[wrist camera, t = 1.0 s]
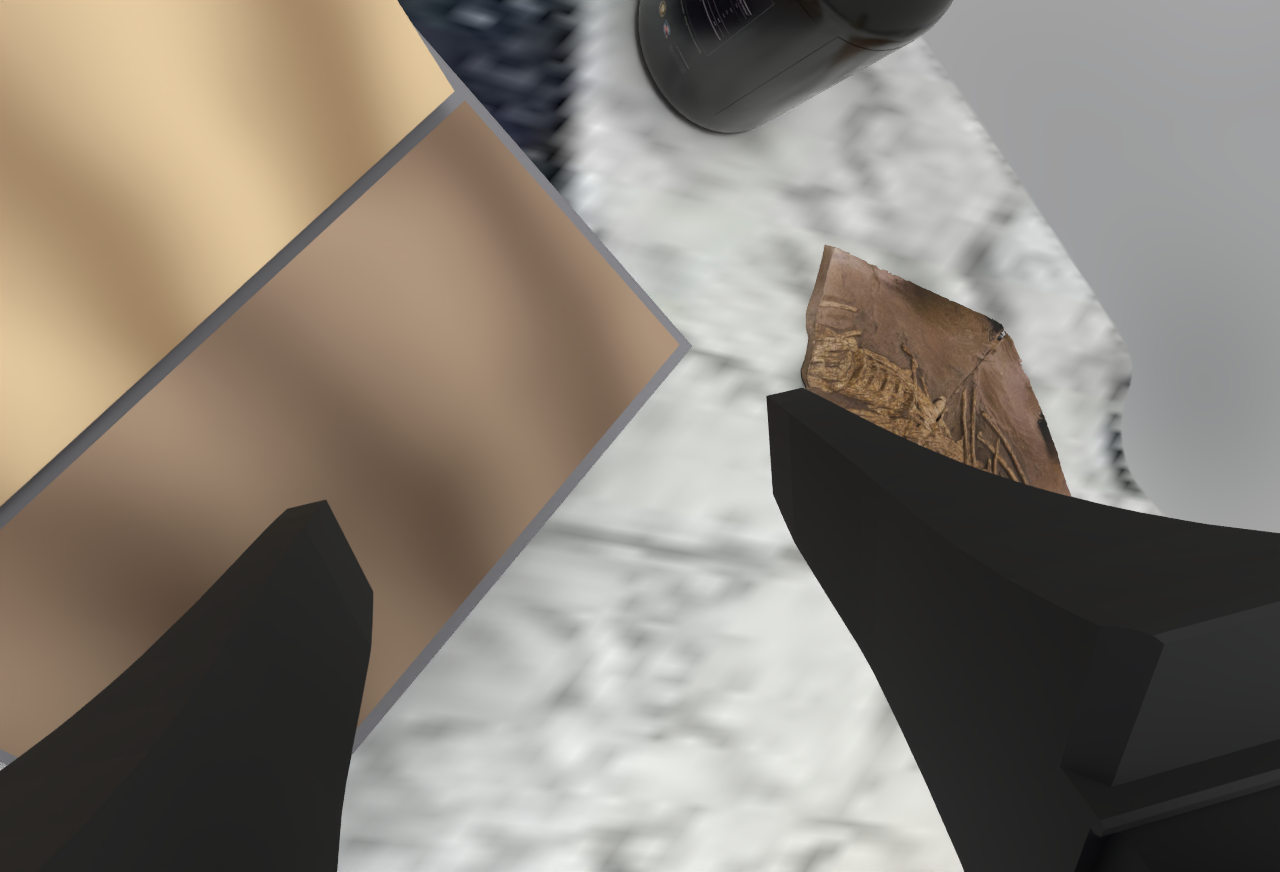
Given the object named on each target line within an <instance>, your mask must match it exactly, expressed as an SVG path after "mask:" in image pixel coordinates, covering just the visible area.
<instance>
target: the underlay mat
mask: <svg viewBox="0 0 1280 872" xmlns="http://www.w3.org/2000/svg"><path fill="white" fill-rule="evenodd" d="M414 28H415V27H414ZM415 29H416V28H415ZM416 31H417V33H418V34H419V36H420V37H421V39H422V41H423V42H424V44H425V45H426V47H427V48H428V50H429V52H430V53H431V55H432V56H433V58H434V60H435V61H436V63H437V64H438V66H439V67H440V69H441V71H442V72H443V74H444V75H445V77H446V79H447V80H448V82H449V83H450V85H451V86H452V88H453V90H454V92H453V93H452V94H451V95H450V96H449V97H448V98H447V99H446V100H445V101H443V102H442V103H441V104H440V105H439V106H438V107H437V108H436V109H435V110H434V111H433V112H431V113H430V114H429V115H428V116H427V117H426V118H425V119H424V120H423V121H422V122H420V123H419V124H418V125H417V126H416V127H415V128H414V129H413V130H412V131H411V132H410V133H408V134H407V135H406V136H405V137H404V138H403V139H402V140H401V141H400V142H399V143H398V144H396V145H395V146H394V147H393V148H392V149H391V150H390V151H389V152H388V153H387V154H385V155H384V156H383V157H382V158H381V159H380V160H379V161H378V162H377V163H376V164H375V165H373V166H372V167H371V168H370V169H369V170H368V171H367V172H366V173H365V174H364V175H363V176H361V177H360V178H359V179H358V180H357V181H356V182H355V183H354V184H353V185H352V186H350V187H349V188H348V189H347V190H346V191H345V192H344V193H343V194H342V195H341V196H340V197H338V198H337V199H336V200H335V201H334V202H333V203H332V204H331V205H330V206H329V207H328V208H326V209H325V210H324V211H323V212H322V213H321V214H320V215H319V216H318V217H317V218H315V219H314V220H313V221H312V222H311V223H310V224H309V225H308V226H307V227H306V228H305V229H303V230H302V231H301V232H300V233H299V234H298V235H297V236H296V237H295V238H294V239H292V240H291V241H290V242H289V243H288V244H287V245H286V246H285V247H284V248H283V249H282V250H280V251H279V252H278V253H277V254H276V255H275V256H274V257H273V258H272V259H271V260H270V261H268V262H267V263H266V264H265V265H264V266H263V267H262V268H261V269H260V270H259V271H257V272H256V273H255V274H254V275H253V276H252V277H251V278H250V279H249V280H248V281H247V282H245V283H244V284H243V285H242V286H241V287H240V288H239V289H238V290H237V291H236V292H235V293H233V294H232V295H231V296H230V297H229V298H228V299H227V300H226V301H225V302H224V303H222V304H221V305H220V306H219V307H218V308H217V309H216V310H215V311H214V312H213V313H212V314H210V315H209V316H208V317H207V318H206V319H205V320H204V321H203V322H202V323H201V324H200V325H198V326H197V327H196V328H195V329H194V330H193V331H192V332H191V333H190V334H189V335H187V336H186V337H185V338H184V339H183V340H182V341H181V342H180V343H179V344H178V345H177V346H175V347H174V348H173V349H172V350H171V351H170V352H169V353H168V354H167V355H166V356H165V357H163V358H162V359H161V360H160V361H159V362H158V363H157V364H156V365H155V366H154V367H152V368H151V369H150V370H149V371H148V372H147V373H146V374H145V375H144V376H143V377H142V378H140V379H139V380H138V381H137V382H136V383H135V384H134V385H133V386H132V387H131V388H129V389H128V390H127V391H126V392H125V393H124V394H123V395H122V396H121V397H120V398H119V399H117V400H116V401H115V402H114V403H113V404H112V405H111V406H110V407H109V408H108V409H107V410H105V411H104V412H103V413H102V414H101V415H100V416H99V417H98V418H97V419H96V420H94V421H93V422H92V423H91V424H90V425H89V426H88V427H87V428H86V429H85V430H84V431H82V432H81V433H80V434H79V435H78V436H77V437H76V438H75V439H74V440H73V441H72V442H70V443H69V444H68V445H67V446H66V447H65V448H64V449H63V450H62V451H61V452H59V453H58V454H57V455H56V456H55V457H54V458H53V459H52V460H51V461H50V462H49V463H47V464H46V465H45V466H44V467H43V468H42V469H41V470H40V471H39V472H38V473H37V474H35V475H34V476H33V477H32V478H31V479H30V480H29V481H28V482H27V483H26V484H24V485H23V486H22V487H21V488H20V489H19V490H18V491H17V492H16V493H15V494H14V495H12V496H11V497H10V498H9V499H8V500H7V501H6V502H5V503H4V504H3V505H1V506H0V529H2V528H3V527H4V526H5V525H6V524H7V523H8V522H9V521H10V520H11V519H12V518H13V517H14V516H16V515H17V514H18V513H19V512H20V511H21V510H22V509H23V508H24V507H25V506H26V505H27V504H29V503H30V502H31V501H32V500H33V499H34V498H35V497H36V496H37V495H38V494H39V493H40V492H42V491H43V490H44V489H45V488H46V487H47V486H48V485H49V484H50V483H51V482H52V481H53V480H55V479H56V478H57V477H58V476H59V475H60V474H61V473H62V472H63V471H64V470H65V469H66V468H68V467H69V466H70V465H71V464H72V463H73V462H74V461H75V460H76V459H77V458H78V457H79V456H81V455H82V454H83V453H84V452H85V451H86V450H87V449H88V448H89V447H90V446H91V445H92V444H94V443H95V442H96V441H97V440H98V439H99V438H100V437H101V436H102V435H103V434H104V433H105V432H106V431H108V430H109V429H110V428H111V427H112V426H113V425H114V424H115V423H116V422H117V421H118V420H119V419H121V418H122V417H123V416H124V415H125V414H126V413H127V412H128V411H129V410H130V409H131V408H132V407H134V406H135V405H136V404H137V403H138V402H139V401H140V400H141V399H142V398H143V397H144V396H145V395H147V394H148V393H149V392H150V391H151V390H152V389H153V388H154V387H155V386H156V385H157V384H158V383H160V382H161V381H162V380H163V379H164V378H165V377H166V376H167V375H168V374H169V373H170V372H171V371H173V370H174V369H175V368H176V367H177V366H178V365H179V364H180V363H181V362H182V361H183V360H184V359H186V358H187V357H188V356H189V355H190V354H191V353H192V352H193V351H194V350H195V349H196V348H197V347H199V346H200V345H201V344H202V343H203V342H204V341H205V340H206V339H207V338H208V337H209V336H210V335H211V334H213V333H214V332H215V331H216V330H217V329H218V328H219V327H220V326H221V325H222V324H223V323H224V322H226V321H227V320H228V319H229V318H230V317H231V316H232V315H233V314H234V313H235V312H236V311H237V310H239V309H240V308H241V307H242V306H243V305H244V304H245V303H246V302H247V301H248V300H249V299H250V298H252V297H253V296H254V295H255V294H256V293H257V292H258V291H259V290H260V289H261V288H262V287H263V286H265V285H266V284H267V283H268V282H269V281H270V280H271V279H272V278H273V277H274V276H275V275H276V274H278V273H279V272H280V271H281V270H282V269H283V268H284V267H285V266H286V265H287V264H288V263H289V262H291V261H292V260H293V259H294V258H295V257H296V256H297V255H298V254H299V253H300V252H301V251H302V250H303V249H305V248H306V247H307V246H308V245H309V244H310V243H311V242H312V241H313V240H314V239H315V238H316V237H318V236H319V235H320V234H321V233H322V232H323V231H324V230H325V229H326V228H327V227H328V226H329V225H331V224H332V223H333V222H334V221H335V220H336V219H337V218H338V217H339V216H340V215H341V214H342V213H344V212H345V211H346V210H347V209H348V208H349V207H350V206H351V205H352V204H353V203H354V202H355V201H357V200H358V199H359V198H360V197H361V196H362V195H363V194H364V193H365V192H366V191H367V190H368V189H370V188H371V187H372V186H373V185H374V184H375V183H376V182H377V181H378V180H379V179H380V178H381V177H383V176H384V175H385V174H386V173H387V172H388V171H389V170H390V169H391V168H392V167H393V166H394V165H395V164H397V163H398V162H399V161H400V160H401V159H402V158H403V157H404V156H405V155H406V154H407V153H408V152H410V151H411V150H412V149H413V148H414V147H415V146H416V145H417V144H418V143H419V142H420V141H421V140H423V139H424V138H425V137H426V136H427V135H428V134H429V133H430V132H431V131H432V130H433V129H434V128H436V127H437V126H438V125H439V124H440V123H441V122H442V121H443V120H444V119H445V118H446V117H447V116H449V115H450V114H451V113H452V112H453V111H454V110H455V109H456V108H457V107H458V106H459V105H460V104H462V103H463V102H464V101H466V102H467V103H468V104H469V105H470V106H471V108H472V109H473V110H474V111H475V112H476V113H477V114H478V116H479V117H480V118H481V119H482V120H483V121H484V122H485V124H486V125H487V126H488V127H489V128H490V129H491V130H492V131H493V133H494V134H495V135H496V136H497V137H498V138H499V139H500V141H501V142H502V143H503V144H504V145H505V146H506V147H507V149H508V150H509V151H510V152H511V153H512V154H513V155H514V157H515V158H516V159H517V160H518V161H519V162H520V163H521V165H522V166H523V167H524V168H525V169H526V170H527V171H528V172H529V174H530V175H531V176H532V177H533V178H534V179H535V180H536V182H537V183H538V184H539V185H540V186H541V187H542V188H543V190H544V191H545V192H546V193H547V194H548V195H549V196H550V198H551V199H552V200H553V201H554V202H555V203H556V204H557V206H558V207H559V208H560V209H561V210H562V211H563V212H564V213H565V215H566V216H567V217H568V218H569V219H570V220H571V221H572V223H573V224H574V225H575V226H576V227H577V228H578V229H579V231H580V232H581V233H582V234H583V235H584V236H585V237H586V239H587V240H588V241H589V242H590V243H591V244H592V245H593V247H594V248H595V249H596V250H597V251H598V252H599V253H600V254H601V256H602V257H603V258H604V259H605V260H606V261H607V262H608V264H609V265H610V266H611V267H612V268H613V269H614V270H615V272H616V273H617V274H618V275H619V276H620V277H621V278H622V280H623V281H624V282H625V283H626V284H627V285H628V286H629V287H630V289H631V290H632V291H633V292H634V293H635V294H636V295H637V297H638V298H639V299H640V300H641V301H642V302H643V303H644V305H645V306H646V307H647V308H648V309H649V310H650V311H651V313H652V314H653V315H654V316H655V317H656V318H657V319H658V321H659V322H660V323H661V324H662V325H663V326H664V327H665V328H666V330H667V331H668V332H669V333H670V334H671V335H672V336H673V338H674V339H675V340H676V341H677V342H678V343H679V344H680V345H679V346H678V347H677V348H676V350H675V351H674V352H673V353H672V354H671V356H670V357H669V358H668V359H667V360H666V362H665V363H664V364H663V365H662V366H661V367H660V369H659V370H658V371H657V372H656V373H655V375H654V376H653V377H652V378H651V379H650V381H649V382H648V383H647V384H646V385H645V387H644V388H643V389H642V390H641V391H640V392H639V394H638V395H637V396H636V397H635V398H634V400H633V401H632V402H631V403H630V404H629V406H628V407H627V408H626V409H625V410H624V411H623V413H622V414H621V415H620V416H619V417H618V419H617V420H616V421H615V422H614V423H613V425H612V426H611V427H610V428H609V429H608V430H607V432H606V433H605V434H604V435H603V436H602V438H601V439H600V440H599V441H598V442H597V444H596V445H595V446H594V447H593V448H592V450H591V451H590V452H589V453H588V454H587V455H586V457H585V458H584V459H583V460H582V461H581V463H580V464H579V465H578V466H577V467H576V469H575V470H574V471H573V472H572V473H571V474H570V476H569V477H568V478H567V479H566V480H565V482H564V483H563V484H562V485H561V486H560V488H559V489H558V490H557V491H556V492H555V494H554V495H553V496H552V497H551V498H550V499H549V501H548V502H547V503H546V504H545V505H544V507H543V508H542V509H541V510H540V511H539V513H538V514H537V515H536V516H535V517H534V518H533V520H532V521H531V522H530V523H529V524H528V526H527V527H526V528H525V529H524V530H523V532H522V533H521V534H520V535H519V536H518V537H517V539H516V540H515V541H514V542H513V543H512V545H511V546H510V547H509V548H508V549H507V551H506V552H505V553H504V554H503V555H502V557H501V558H500V559H499V560H498V561H497V562H496V564H495V565H494V566H493V567H492V568H491V570H490V571H489V572H488V573H487V574H486V576H485V577H484V578H483V579H482V580H481V581H480V583H479V584H478V585H477V586H476V587H475V589H474V590H473V591H472V592H471V593H470V595H469V596H468V597H467V598H466V599H465V600H464V602H463V603H462V604H461V605H460V606H459V608H458V609H457V610H456V611H455V612H454V614H453V615H452V616H451V617H450V618H449V620H448V621H447V622H446V623H445V624H444V625H443V627H442V628H441V629H440V630H439V631H438V633H437V634H436V635H435V636H434V637H433V639H432V640H431V641H430V642H429V643H428V644H427V646H426V647H425V648H424V649H423V650H422V652H421V653H420V654H419V655H418V656H417V658H416V659H415V660H414V661H413V662H412V663H411V665H410V666H409V667H408V668H407V669H406V671H405V672H404V673H403V674H402V675H401V677H400V678H399V679H398V680H397V681H396V683H395V684H394V685H393V686H392V687H391V688H390V690H389V691H388V692H387V693H386V694H385V696H384V697H383V698H382V699H381V700H380V702H379V703H378V704H377V705H376V706H375V707H374V709H373V710H372V711H371V712H370V713H369V715H368V716H367V717H366V718H365V719H364V721H363V722H362V723H361V724H360V725H359V726H358V728H357V729H356V734H355V739H354V744H353V749H352V754H353V753H354V751H355V750H356V749H357V748H358V747H359V745H360V744H361V743H362V742H363V741H364V739H365V738H366V737H367V736H368V735H369V733H370V732H371V731H372V730H373V729H374V727H375V726H376V725H377V724H378V723H379V721H380V720H381V719H382V718H383V717H384V715H385V714H386V713H387V712H388V711H389V709H390V708H391V707H392V706H393V705H394V703H395V702H396V701H397V700H398V699H399V697H400V696H401V695H402V694H403V693H404V691H405V690H406V689H407V688H408V687H409V685H410V684H411V683H412V682H413V681H414V679H415V678H416V677H417V676H418V675H419V673H420V672H421V671H422V670H423V669H424V667H425V666H426V665H427V664H428V663H429V661H430V660H431V659H432V658H433V657H434V655H435V654H436V653H437V652H438V651H439V649H440V648H441V647H442V646H443V645H444V643H445V642H446V641H447V640H448V639H449V637H450V636H451V635H452V634H453V633H454V631H455V630H456V629H457V628H458V627H459V625H460V624H461V623H462V622H463V621H464V619H465V618H466V617H467V616H468V615H469V613H470V612H471V611H472V610H473V609H474V607H475V606H476V605H477V604H478V603H479V601H480V600H481V599H482V598H483V597H484V596H485V594H486V593H487V592H488V591H489V590H490V588H491V587H492V586H493V585H494V584H495V582H496V581H497V580H498V579H499V578H500V576H501V575H502V574H503V573H504V572H505V570H506V569H507V568H508V567H509V566H510V564H511V563H512V562H513V561H514V560H515V558H516V557H517V556H518V555H519V554H520V552H521V551H522V550H523V549H524V548H525V546H526V545H527V544H528V543H529V542H530V540H531V539H532V538H533V537H534V536H535V534H536V533H537V532H538V531H539V530H540V528H541V527H542V526H543V525H544V524H545V522H546V521H547V520H548V519H549V518H550V516H551V515H552V514H553V513H554V512H555V510H556V509H557V508H558V507H559V506H560V504H561V503H562V502H563V501H564V500H565V498H566V497H567V496H568V495H569V494H570V492H571V491H572V490H573V489H574V488H575V486H576V485H577V484H578V483H579V482H580V480H581V479H582V478H583V477H584V476H585V474H586V473H587V472H588V471H589V470H590V468H591V467H592V466H593V465H594V464H595V462H596V461H597V460H598V459H599V458H600V456H601V455H602V454H603V453H604V452H605V450H606V449H607V448H608V447H609V446H610V444H611V443H612V442H613V441H614V440H615V438H616V437H617V436H618V435H619V434H620V432H621V431H622V430H623V429H624V428H625V426H626V425H627V424H628V423H629V422H630V420H631V419H632V418H633V417H634V416H635V414H636V413H637V412H638V411H639V410H640V408H641V407H642V406H643V405H644V404H645V402H646V401H647V400H648V399H649V398H650V397H651V395H652V394H653V393H654V392H655V391H656V389H657V388H658V387H659V386H660V385H661V383H662V382H663V381H664V380H665V379H666V377H667V376H668V375H669V374H670V373H671V371H672V370H673V369H674V368H675V367H676V365H677V364H678V363H679V362H680V361H681V359H682V358H683V357H684V356H685V355H686V353H687V352H688V351H689V350H690V349H691V347H692V345H691V344H690V343H689V342H688V341H687V340H686V339H685V337H684V336H683V335H682V334H681V333H680V332H679V330H678V329H677V328H676V327H675V326H674V325H673V324H672V322H671V321H670V320H669V319H668V318H667V317H666V316H665V314H664V313H663V312H662V311H661V310H660V309H659V307H658V306H657V305H656V304H655V303H654V302H653V301H652V299H651V298H650V297H649V296H648V295H647V294H646V293H645V291H644V290H643V289H642V288H641V287H640V286H639V284H638V283H637V282H636V281H635V280H634V279H633V278H632V276H631V275H630V274H629V273H628V272H627V271H626V270H625V268H624V267H623V266H622V265H621V264H620V263H619V261H618V260H617V259H616V258H615V257H614V256H613V255H612V253H611V252H610V251H609V250H608V249H607V248H606V247H605V245H604V244H603V243H602V242H601V241H600V240H599V238H598V237H597V236H596V235H595V234H594V233H593V232H592V230H591V229H590V228H589V227H588V226H587V225H586V224H585V222H584V221H583V220H582V219H581V218H580V217H579V215H578V214H577V213H576V212H575V211H574V210H573V209H572V207H571V206H570V205H569V204H568V203H567V202H566V201H565V199H564V198H563V197H562V196H561V195H560V194H559V192H558V191H557V190H556V189H555V188H554V187H553V186H552V184H551V183H550V182H549V181H548V180H547V179H546V178H545V176H544V175H543V174H542V173H541V172H540V171H539V169H538V168H537V167H536V166H535V165H534V164H533V163H532V161H531V160H530V159H529V158H528V157H527V156H526V155H525V153H524V152H523V151H522V150H521V149H520V148H519V146H518V145H517V144H516V143H515V142H514V141H513V140H512V138H511V137H510V136H509V135H508V134H507V133H506V132H505V130H504V129H503V128H502V127H501V126H500V125H499V124H498V122H497V121H496V120H495V119H494V118H493V117H492V115H491V114H490V113H489V112H488V111H487V110H486V109H485V107H484V106H483V105H482V104H481V103H480V102H479V101H478V99H477V98H476V97H475V96H474V95H473V94H472V92H471V91H470V90H469V89H468V88H467V87H466V86H465V84H464V83H463V82H462V81H461V80H460V79H459V78H458V76H457V75H456V74H455V73H454V72H453V71H452V69H451V68H450V67H449V66H448V65H447V64H446V63H445V61H444V60H443V59H442V58H441V57H440V56H439V55H438V53H437V52H436V51H435V50H434V49H433V48H432V46H431V45H430V44H429V43H428V42H427V41H426V40H425V38H424V37H423V36H422V35H421V34H420V33H419V32H418V30H417V29H416ZM17 758H18V757H16V756H14V755H12V754H10V753H8V752H6V751H4V750H2V749H0V762H2V763H4V764H6V765H9V764H10V763H12V762H13V761H14V760H16V759H17Z"/></svg>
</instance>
